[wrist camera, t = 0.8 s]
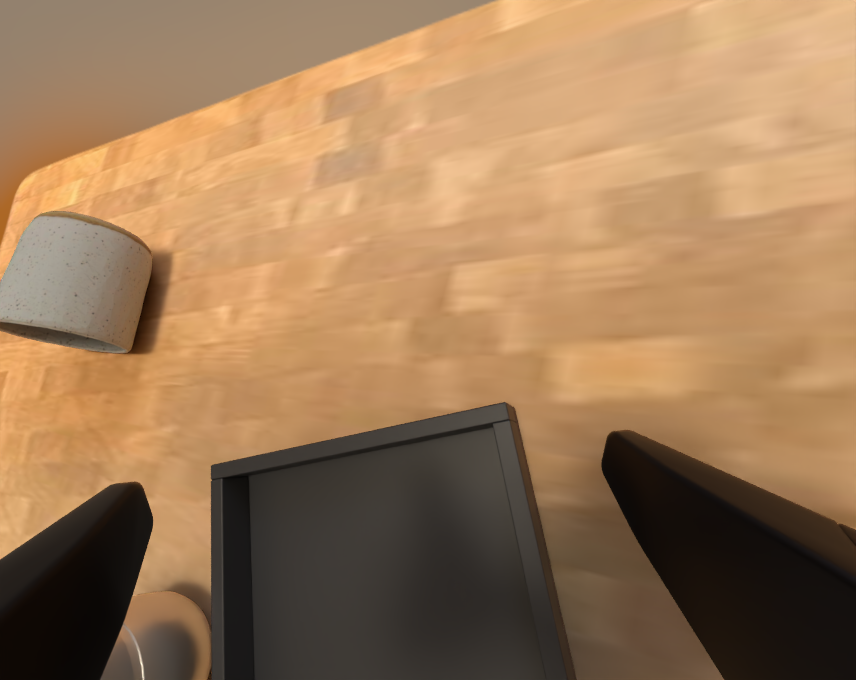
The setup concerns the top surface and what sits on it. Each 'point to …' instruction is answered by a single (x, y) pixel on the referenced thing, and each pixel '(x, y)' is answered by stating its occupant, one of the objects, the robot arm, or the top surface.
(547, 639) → the tray
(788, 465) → the top surface
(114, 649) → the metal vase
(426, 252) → the top surface
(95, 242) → the ceramic mug
